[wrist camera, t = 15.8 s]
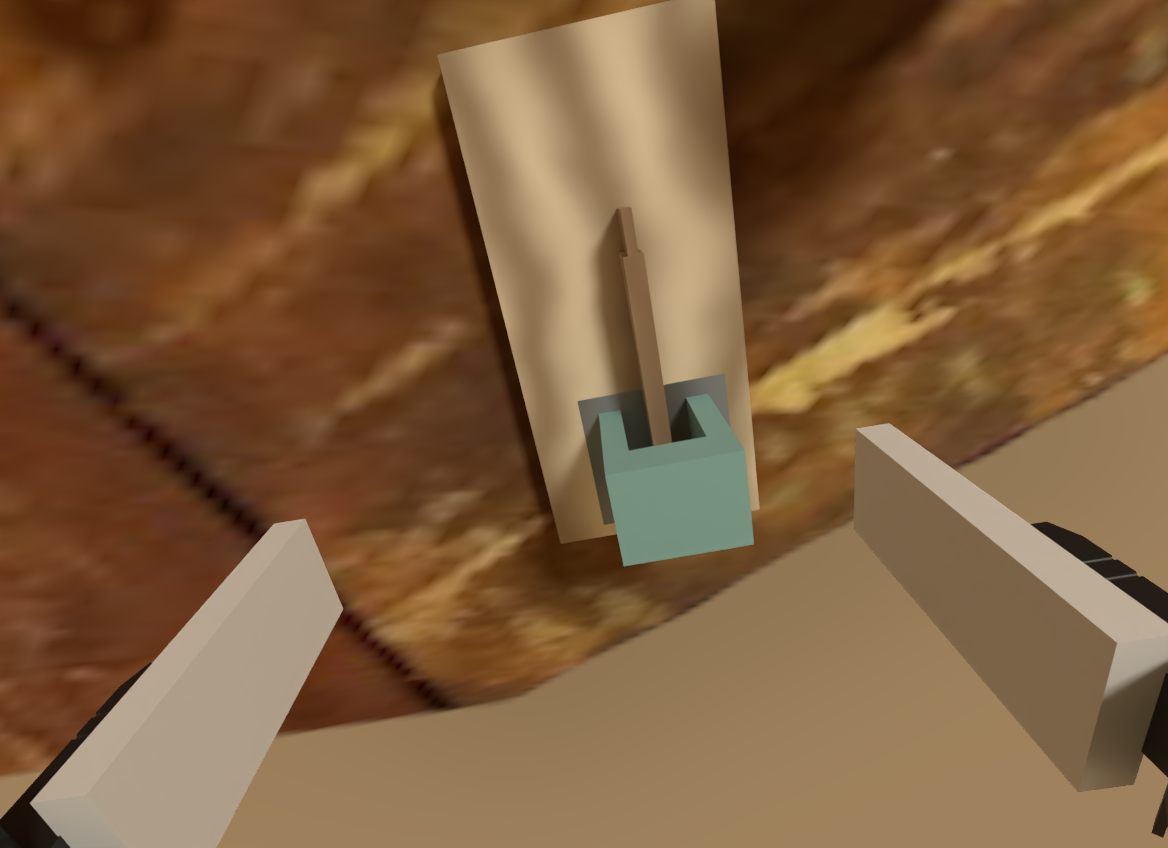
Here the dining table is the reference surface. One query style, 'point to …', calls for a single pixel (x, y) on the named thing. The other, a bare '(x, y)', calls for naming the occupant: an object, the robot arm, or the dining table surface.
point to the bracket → (678, 488)
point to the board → (608, 234)
